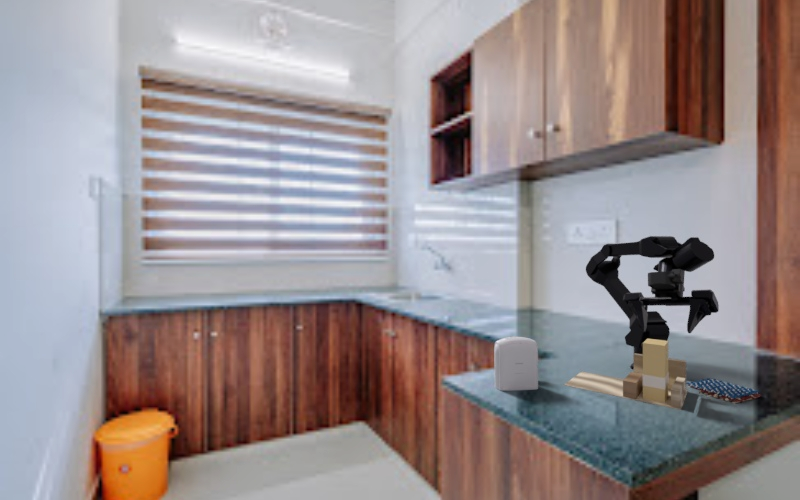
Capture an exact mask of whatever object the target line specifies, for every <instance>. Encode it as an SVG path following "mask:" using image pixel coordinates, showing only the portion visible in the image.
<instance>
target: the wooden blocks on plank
mask: <svg viewBox="0 0 800 500" xmlns="http://www.w3.org/2000/svg"><path fill="white" fill-rule="evenodd" d="M633 363H634V368H633V371H630V372H629V374H628V375H627V376H626V377H625V378H619V377H614V376H607V375H604V374H597V373H592V372H586V371H580V372H579V373H577V374H576V375H575V376H574V377H572V378H571V379H569V380H568V381H567V382H566V383H564V384H563V386H568V387H573V388H575V389H576V388H577V389H581V390H585V391H591V392H596V393H600V394H605V395H610V396H615V397H619V398H623V399H629V400H633V401H638V402H642V403H647V404H653V405H656V406H661V407H666V408H671V409H675V410H681V411H682V408H683V406H684V403H685V400H686V397H687V395H688V390H687V384H686V383H687V360H684V359H677V358H671V357H668V372H669V383H668V397H667V399H666V401H665V403H663V402H658V401H654V400H649V399H644V398H643V354H637V353H635V354H634V353H633Z"/></svg>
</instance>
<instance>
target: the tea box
mask: <svg viewBox="0 0 800 500" xmlns="http://www.w3.org/2000/svg"><path fill="white" fill-rule="evenodd" d="M668 358H669V340H667V341H665V340H656V339H648V338H647V339H646V340H645V341H644V342H643V398H644V399H649V400H654V401H658V402H663V403H665V401H666V399H667V397H668V383H669V372H668Z"/></svg>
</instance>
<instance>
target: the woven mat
mask: <svg viewBox="0 0 800 500" xmlns="http://www.w3.org/2000/svg"><path fill="white" fill-rule="evenodd" d="M686 385H687V388H694V389H695V390H698V391H699V392H698V393H699V394H703V395H705V396H706V395H707V396H708V397H711V398H712V397H713V398H715V399H720V400H723V401H724V400H725V401H726V402H731V403H732V404H738V403H743V402H747V401H750V400H755V399H757V398H760V397H761V396H762V394H760V393H759V390H755V389H752V388H749V387H745V386H743V385H742V386H740V385H738V384H733V383H730V382H729V381H727V382H726V381H723V380H718V379H715V378H712V379H710V378H706V379H705V378H702V379H699V380H694V381H690V382H686Z"/></svg>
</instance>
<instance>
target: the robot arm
mask: <svg viewBox="0 0 800 500" xmlns="http://www.w3.org/2000/svg"><path fill="white" fill-rule="evenodd" d="M622 256H640V257H645V258H651V259H652V258H653V259H654V258H655V259H656V258H657V259H659V258H661V259H660V260H659V261H658V263H657V264H656V265H654V267H653V272H652V271H651V272H647V286H648V287H650V293H652V295H654V296H646V297H645V296H644V294H643V292H640V291H639V292H638V291H637V292H631V291H630V290H629V289H628V287H626V285H625V284H624V282H622V280H621V279H620V278H619V268H620V266H621V257H622ZM609 257H611V258H612V259H611V260H607V259H608V258H609ZM714 259H715V253H714V250H713V248H711V247H710V246H709V245H708V244H707V243H705V242H703V241H701V240H700V238H699V237H698V236H696V237H694V236H693V237H689V238H687V239H686V240H685V241H684V242H683V243H681V242H679V241H678V240H677V239H676V237H674V236H669V235H668V236H667V235H665V236H664V235H662V236H660V235H659V236H657V235H653V236H652V235H649V236H647V237H644V238H641V239H640V240H639V241H633V242H621V243H605V244H603V246H602V248H601V249H600V250H599V251H598V252H597V253H595V254H594V255H593V256H591V257H590V259H589V261H588V263H587V264H586V266H585V272H586V274H587V277H588V278H590V279H591V280H592V281H593V282H594V283H596V284H598V285H599V286H600V285H601V286H602V287H604V289H605V290H606V291H607V293H608V294H609V295H610V296H611V298H612V299H613V300H614V302H616V304H617V305H618V307H619V308H620V309H621V310H622V312H623V313H624V314H625V315H626V317H627V319H629V323H628V324H629V325H628V326H629V330H630V331H629V332H628V333H627V334H626V335H625V336H624V340H625V344H626V345H627V346H630V347H632V348H633V355H634V354H635V353H637V354H643V342H644V341H645V340H646V339H647V338H648V339H656V340H665V341H669V340H668V339H669V337H670V331H671V330H670V328H669V325H668V324H667V323H668V321H667V320H665V319H664V318H663V317H662V315H661V313H659V312H658V311H656V310H655V311H654V310H653V311H651V310H650V311H648V308H649V307H650V306H666V307H677V306H678V307H682V306H685V307H688V306H689V312H688V319H687V323H686V328H687V329H686V331H687V334H691V333H692V332H693V331H694V329H695V328H696V327H697V326H698V324H699V323H700V322H701V321H703V319H704V318H705V317H707V316H711V315H712V314H713V313H716V314H717V313H718V312H719V310H720V309H719V307H720V305H719V301H718V299H717V297H716V295H715V292H714V291H713V290H711V289H692V290H691V296H684V292H685V272H689V273H691V272H694V271H696V270H698V269H700V268H701V267H703V266H704V265H706V264H708V263H710V262H711V261H713V260H714ZM648 306H649V307H648ZM630 369H634V362H633V363H632V364H631V365H630Z"/></svg>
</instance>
